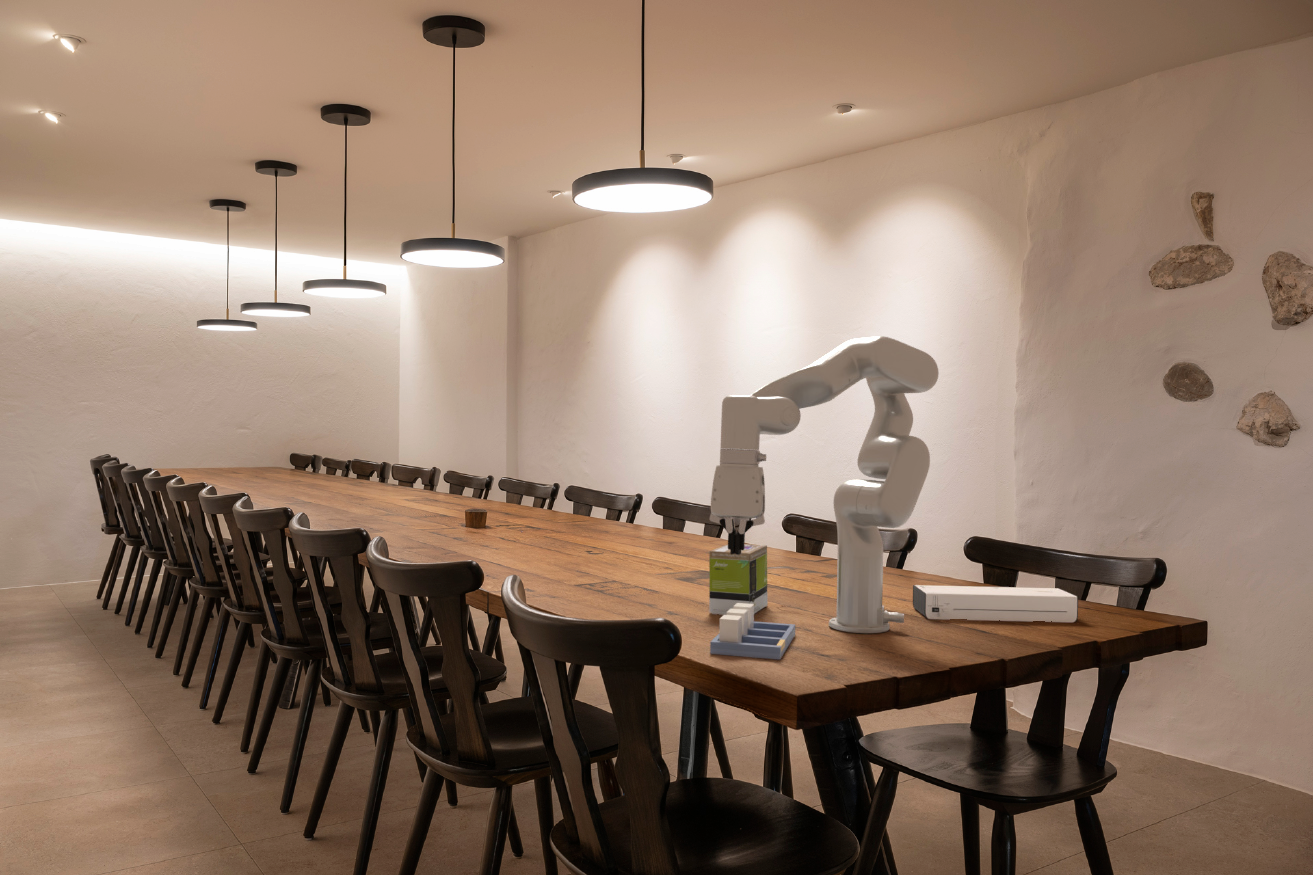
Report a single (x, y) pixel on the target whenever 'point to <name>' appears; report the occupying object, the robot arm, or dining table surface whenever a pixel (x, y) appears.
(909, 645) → the dining table surface
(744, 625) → the tab
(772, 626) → the blue compartment tray
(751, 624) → the tab
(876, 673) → the dining table surface
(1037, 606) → the laminator
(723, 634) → the tab
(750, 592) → the tea box
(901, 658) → the dining table surface
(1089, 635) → the dining table surface
